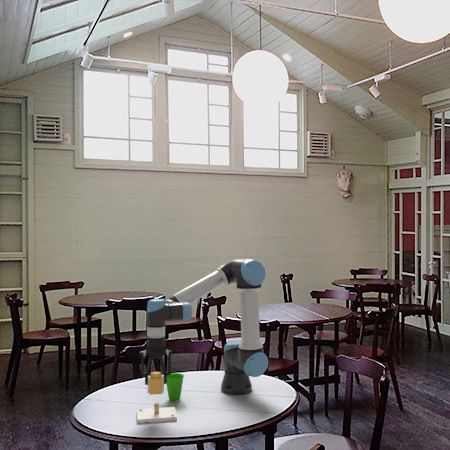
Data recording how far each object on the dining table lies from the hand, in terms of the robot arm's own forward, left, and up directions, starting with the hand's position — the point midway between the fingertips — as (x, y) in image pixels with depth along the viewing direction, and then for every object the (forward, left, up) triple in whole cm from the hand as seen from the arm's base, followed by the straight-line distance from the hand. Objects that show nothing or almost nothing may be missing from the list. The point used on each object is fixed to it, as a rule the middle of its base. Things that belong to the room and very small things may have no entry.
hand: (155, 391), depth 206 cm
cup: (-9, -20, -11) cm, 25 cm away
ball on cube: (0, 0, 0) cm, 0 cm away
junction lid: (0, 0, -10) cm, 10 cm away
